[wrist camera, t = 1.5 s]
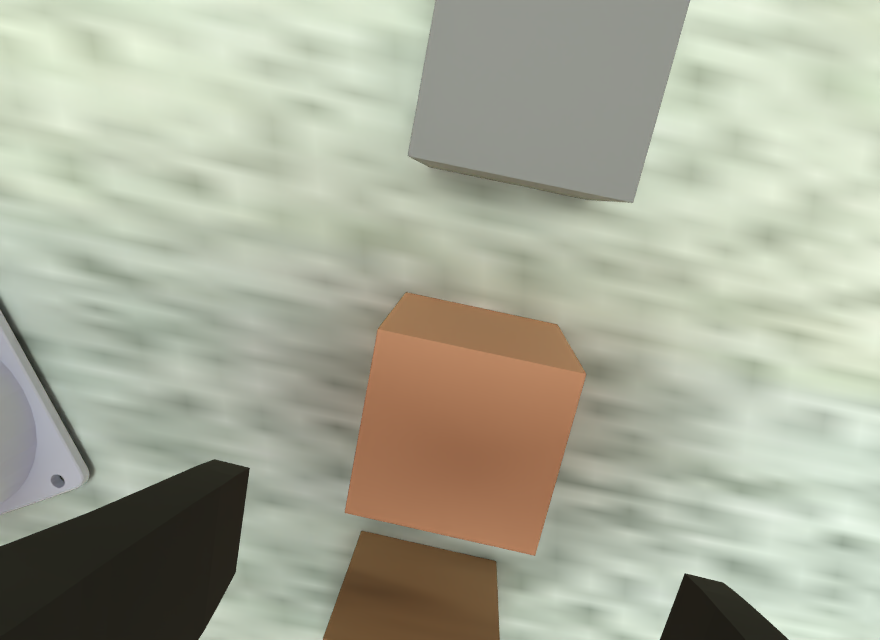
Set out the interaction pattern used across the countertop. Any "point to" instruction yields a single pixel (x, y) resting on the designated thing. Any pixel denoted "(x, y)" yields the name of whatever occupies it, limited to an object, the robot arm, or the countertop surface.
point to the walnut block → (414, 594)
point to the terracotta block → (464, 422)
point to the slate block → (546, 91)
